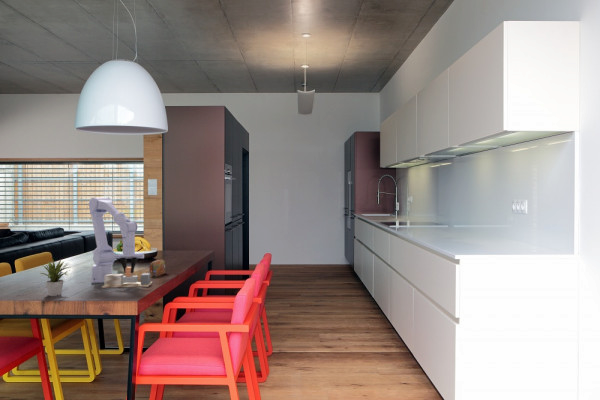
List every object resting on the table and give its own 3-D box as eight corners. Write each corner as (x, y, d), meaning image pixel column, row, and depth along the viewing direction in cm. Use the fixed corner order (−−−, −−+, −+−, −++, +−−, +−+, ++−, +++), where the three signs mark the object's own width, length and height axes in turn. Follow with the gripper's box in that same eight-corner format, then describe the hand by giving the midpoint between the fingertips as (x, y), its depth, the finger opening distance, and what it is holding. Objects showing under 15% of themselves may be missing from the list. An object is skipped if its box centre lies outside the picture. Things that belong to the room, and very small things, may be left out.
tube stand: (101, 287, 230) (101, 276, 230) (107, 283, 240) (107, 273, 240) (148, 286, 233) (148, 275, 233) (152, 282, 243) (152, 272, 243)
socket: (140, 284, 235) (140, 275, 235) (143, 282, 241) (143, 273, 241) (148, 284, 235) (148, 274, 235) (150, 282, 241) (150, 273, 241)
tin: (153, 277, 260) (153, 262, 260) (148, 277, 261) (148, 262, 261) (166, 273, 275) (166, 258, 275) (161, 272, 275) (161, 258, 275)
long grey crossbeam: (107, 283, 234) (107, 268, 234) (109, 282, 237) (108, 267, 237) (136, 282, 236) (136, 267, 236) (137, 281, 239) (137, 266, 239)
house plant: (67, 297, 207) (67, 260, 207) (33, 299, 204) (32, 261, 204) (76, 291, 221) (75, 256, 221) (43, 292, 218) (43, 257, 218)
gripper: (111, 246, 232) (111, 274, 232) (142, 246, 234) (142, 273, 234) (115, 245, 239) (115, 272, 239) (144, 244, 241) (145, 271, 241)
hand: (128, 272), depth 237 cm, fingers closed on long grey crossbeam, 3 cm apart
